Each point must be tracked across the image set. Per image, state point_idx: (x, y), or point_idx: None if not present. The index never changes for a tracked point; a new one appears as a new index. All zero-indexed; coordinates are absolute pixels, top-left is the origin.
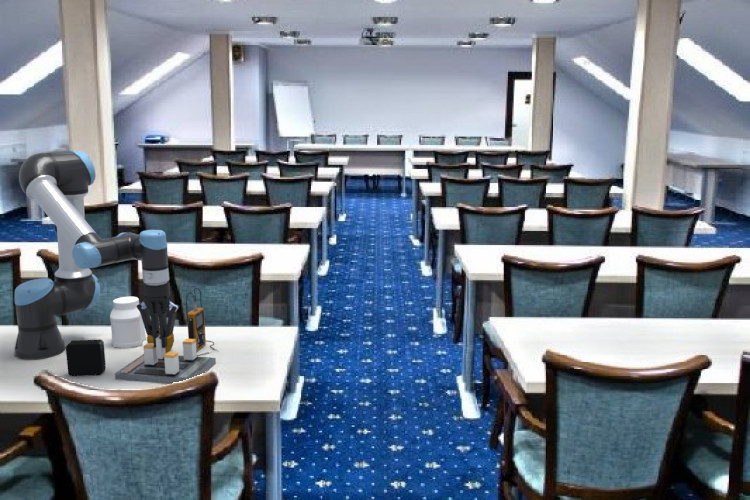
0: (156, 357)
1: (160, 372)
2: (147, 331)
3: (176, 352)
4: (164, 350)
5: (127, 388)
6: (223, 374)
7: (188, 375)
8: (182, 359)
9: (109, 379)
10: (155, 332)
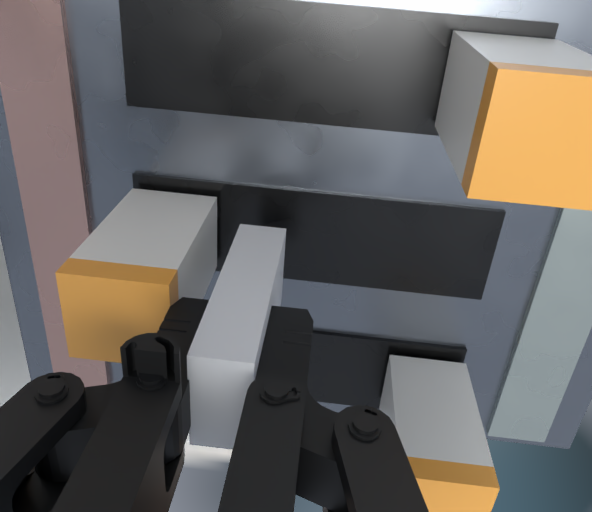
0: (206, 241)
1: (328, 373)
2: (42, 495)
3: (484, 491)
4: (278, 277)
5: (199, 457)
6: None
7: (551, 415)
8: (412, 100)
9: (19, 361)
10: (166, 505)
